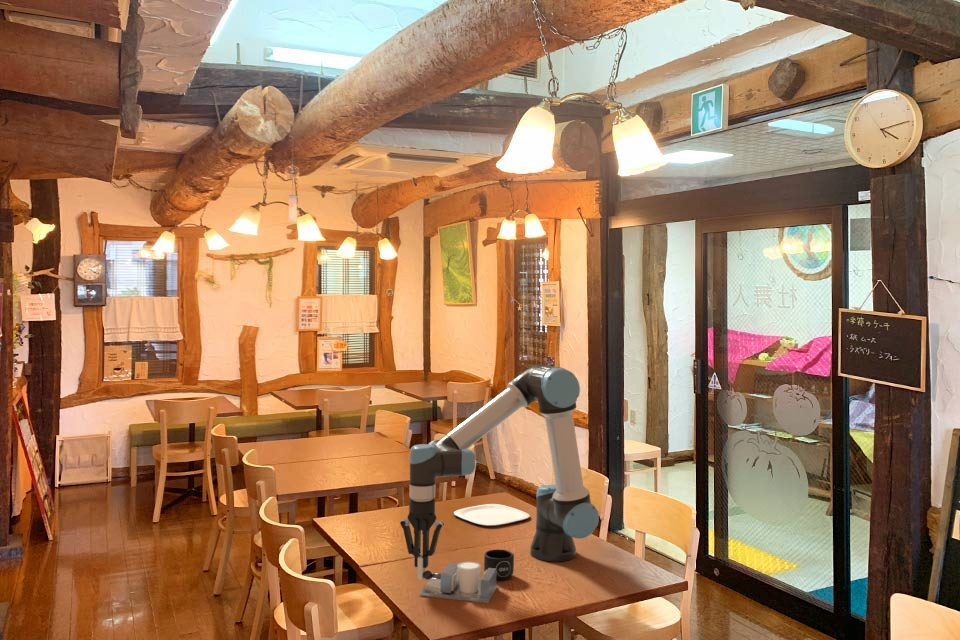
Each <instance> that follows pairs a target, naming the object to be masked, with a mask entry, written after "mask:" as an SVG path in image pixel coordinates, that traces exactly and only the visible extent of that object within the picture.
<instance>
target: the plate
mask: <svg viewBox="0 0 960 640" xmlns="http://www.w3.org/2000/svg"><path fill="white" fill-rule="evenodd" d="M452 514H453V515H454V516H455V517H457V518H459V519H461V520H463V521H464V520H465V521H466V522H470V523H472V524H475V525H478V526H484V527H496V526H504V525H508V524H514V523H517V522H521V521H525V520H528V519H529V518H530V517H531V515H530V514H529V513H528V512H525V511H523V510H520V509H518V508H514V507H512V506H508V505H504V504H499V503H498V504H497V503H487V504H480V505H479V504H478V505H475V506H474V505H473V506H469V507H463V508H460V509H457V510H455V511H453V513H452Z"/></svg>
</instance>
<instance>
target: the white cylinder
mask: <svg viewBox="0 0 960 640" xmlns="http://www.w3.org/2000/svg"><path fill="white" fill-rule="evenodd" d="M457 564H458V565H457V568H458V581H459V590H460V591H461V592H465V593H474V592H477V591H478V588H479V580H480V578H481V569H482V567H481V566H482V565H481V564H480V563H479V562H475V561H463V562H459V563H457Z"/></svg>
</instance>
